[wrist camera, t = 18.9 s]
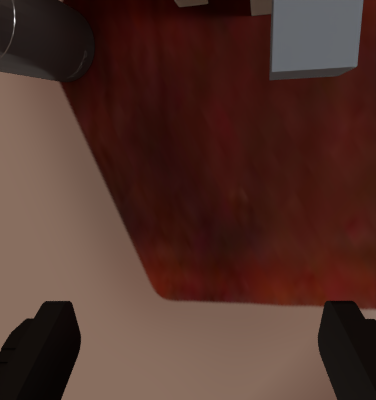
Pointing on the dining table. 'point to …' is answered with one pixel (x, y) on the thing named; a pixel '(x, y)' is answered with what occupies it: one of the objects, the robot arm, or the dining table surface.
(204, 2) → the beige rectangular block
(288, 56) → the gray bar
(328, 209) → the dining table surface
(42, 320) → the robot arm
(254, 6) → the cream stand
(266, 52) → the dining table surface
